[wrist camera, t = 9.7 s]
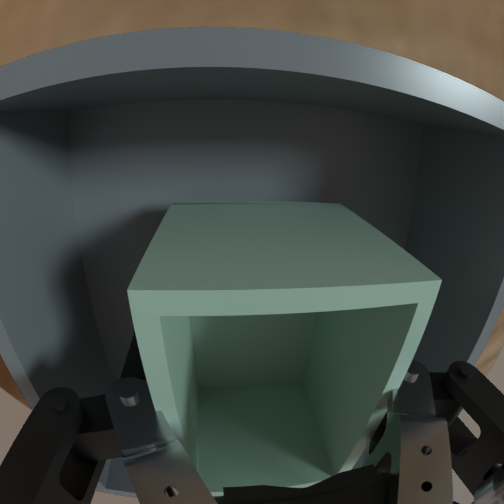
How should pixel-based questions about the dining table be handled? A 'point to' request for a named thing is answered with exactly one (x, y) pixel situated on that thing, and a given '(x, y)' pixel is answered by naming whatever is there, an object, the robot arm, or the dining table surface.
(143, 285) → the small crate
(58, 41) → the dining table surface
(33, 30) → the dining table surface
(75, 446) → the robot arm
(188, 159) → the big crate
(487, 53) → the dining table surface
